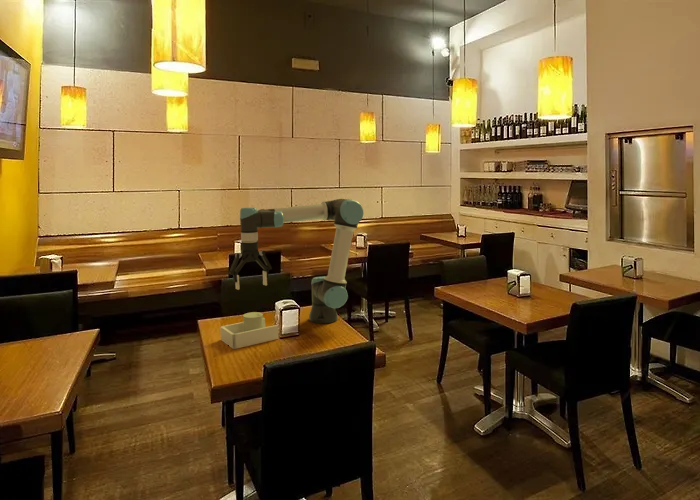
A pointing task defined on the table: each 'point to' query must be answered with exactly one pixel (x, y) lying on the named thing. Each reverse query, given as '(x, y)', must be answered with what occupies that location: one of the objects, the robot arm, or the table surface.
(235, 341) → the open box
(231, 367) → the table surface
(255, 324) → the can
